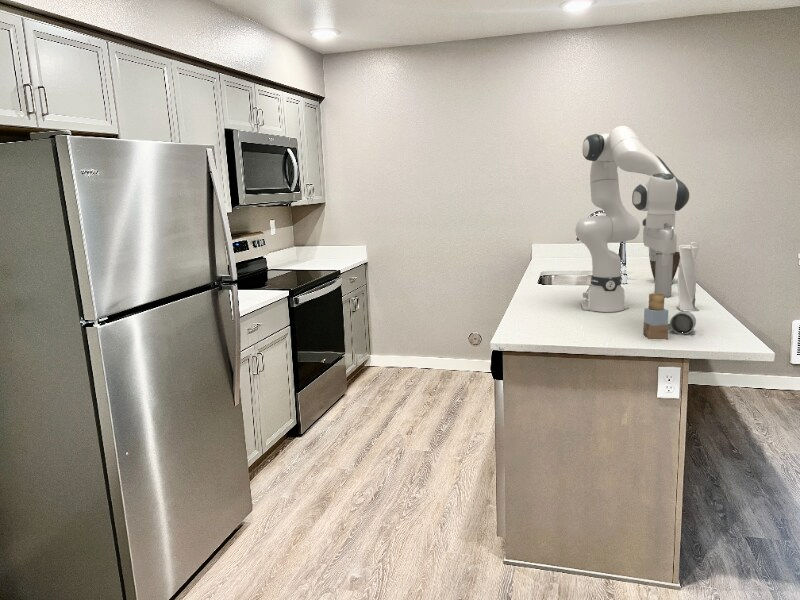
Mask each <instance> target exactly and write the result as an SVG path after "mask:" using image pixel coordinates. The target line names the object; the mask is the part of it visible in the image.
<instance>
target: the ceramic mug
mask: <svg viewBox="0 0 800 600" xmlns="http://www.w3.org/2000/svg"><path fill="white" fill-rule="evenodd" d="M696 324H697V320H696V317H695V315H694V314H693V313H692V312H691V311H678V312H677V313H675V314H674V315H672V316H671V319H670V320H669V323H668V331H670V330H672V332H674V334H677V335H680V334H686V335H688V334H690V333H691V332H692V331H693V330H694V328H695V326H696ZM682 332H683V333H682Z"/></svg>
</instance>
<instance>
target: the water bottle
mask: <svg viewBox="0 0 800 600" xmlns="http://www.w3.org/2000/svg"><path fill="white" fill-rule="evenodd" d="M656 251H657V250H656ZM656 253H657V254H656V256H657V258H656V259H657V260H656V267H655V280H654V293H660V294H664V295H665V296H664V299H665V297H667V298H670V297H671V296H672V288H673V287H672V284H673V281H672V269H673V254H672V253H671V254H670V256H669V259H668V263H667V265H666V266H663V265H661V264H660V263H661V260H662V252H660V251H657V252H656Z"/></svg>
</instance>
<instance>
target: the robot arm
mask: <svg viewBox="0 0 800 600" xmlns="http://www.w3.org/2000/svg"><path fill="white" fill-rule="evenodd" d="M581 150H582V156H583V157H584V159H585V160H586V161H591V164H590V173H589V177H590V178H589V181H590V182H589V183H590V198H591V203H592V204H593V205H594V206H595V207H596V208H599V209H601V210H602V211H603V212H604V214H605V215H596V216H595V215H594V216H593V215H592V216H588V217H584V218H581V219H579V221H577V223H576V226H575V231H574V232H575V235H576V237H577V240H579V241H580V242H581V243H582V244H583V245H584V246H585V247H586V248H587V249H588V250H589V253H590V256H591V262H592V263H591V266H592V269H591V270H592V275H591V276H590V277H591V278H590V285H589V286H588V288H587V289H586V291H585V292H583V293H582V298H583V299H585V300H580V306H581V309H582V310H584V311H593V312H603V313H612V312H613V313H614V312H622V311H623V310H626V309H629V305H627V304H626V301H625V300H626V298H625V297H626V295H625V293H626V292H625V289H624V287H622V280H623V279H622V275H621V265H622V264H621V263H622V259H621V257H620V255H619V254H618V253H617V252H614V251H613V250H610V248H609V247H608V243H623V242H624V243H625V242H629V241H633V240H635V239H636V238H637V237H638V235H639V234H640V231H641V225H642V226H643V230H642V240H643V245H644V247H647V248H648V255H649V254H650V258H649V261H650V260H651V261H656V260H657V259H656V258H657V256H656V250H657V251H660V252H662V260H661V263H660V264H661V265H663V266H666V265H667V263H668V259H669V256H670V254H671V253H675V252H677V246H678V245H677V244H678V243H677V242H678V239H677V232H676V230H675V227H676V215H677V212H679V211H680V210H682V209H683V208H684V207H685V206H686V205H687V204H688V203H689V200H690V192H689V191H690V190H689V188H688V187H687V186H686V184H685V183H684V182H683V181H682V180H680V179H678V178H677V176H676V175H675V174H674V172H672V170H671V169H670V168H669V167H668V166H667V164H666V163H665V162H664V161H663V159H661V158H660V157H659V155H656V154H655V153H653V152H651V151H650V150H649V149H647V147H646V146H644V144H643V143H642V142H641V139H640V138H639V136H638V135H637V134H636V132H635V131H634V130H633V129H631V127H629V126H627V125H618V126H616V127H615V128H613V129H612V130H611V131H610V132H607V133H599V134H597V133H594V134H590V135H588V136H586V137H585V139H584V140H583V143H582V149H581ZM618 168H619V169H621V170H622V171H624V172H626V173H627V172H628V173H633V174H634V173H635V174H640V175H641V174H643V175H647V176H650V177H649V179H648V180H647V181H645V182H644V183H641V184H638V185H637V186H636V187H635V189H634V190H633V191H632V195H631V196H632V197H631V198H632V199H631V201H632V203H631V204H632V205H633V206H634V208H635V209H637V211H642V212H647V213H646V217H645V218H643V220H642V224H641V225H640V222H639V220H638V219H637V218H636V216H634V215H633V214H631V213H630V212H629V211H628V210H627V208H625V206H624V204H623V201H622V197H621V195H620V183H619V174H618Z"/></svg>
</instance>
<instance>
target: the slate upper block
mask: <svg viewBox="0 0 800 600" xmlns="http://www.w3.org/2000/svg"><path fill="white" fill-rule="evenodd" d="M643 311H644V312H643V313H644V314H643V324H644V323H647V324H649V325H651V326H657V325H668V324H669V309H666V308H664V310H659V311H656V310H649V307H644V310H643Z"/></svg>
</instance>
